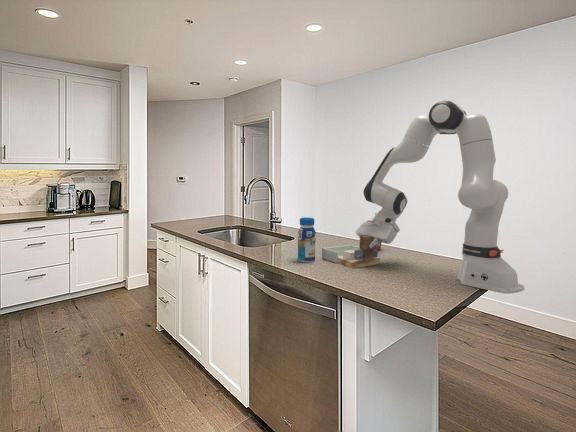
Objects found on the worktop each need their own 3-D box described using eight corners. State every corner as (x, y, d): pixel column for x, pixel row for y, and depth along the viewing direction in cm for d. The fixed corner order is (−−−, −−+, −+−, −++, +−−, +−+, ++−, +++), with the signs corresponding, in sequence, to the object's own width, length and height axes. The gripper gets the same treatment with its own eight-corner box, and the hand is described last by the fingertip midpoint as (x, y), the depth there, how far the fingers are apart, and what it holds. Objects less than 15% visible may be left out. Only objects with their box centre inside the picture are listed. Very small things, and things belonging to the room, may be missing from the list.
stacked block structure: (378, 257, 164) (379, 235, 163) (358, 260, 158) (359, 237, 157) (373, 255, 167) (374, 234, 166) (353, 258, 161) (353, 236, 160)
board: (379, 263, 167) (379, 258, 166) (352, 268, 158) (352, 262, 158) (364, 259, 175) (364, 254, 175) (338, 263, 167) (338, 257, 167)
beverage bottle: (299, 258, 176) (299, 216, 174) (316, 259, 174) (317, 217, 172) (295, 262, 168) (296, 219, 166) (314, 263, 166) (315, 219, 164)
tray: (366, 259, 176) (366, 248, 175) (336, 263, 166) (336, 252, 166) (350, 254, 185) (351, 244, 184) (322, 258, 176) (322, 248, 175)
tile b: (358, 258, 166) (358, 251, 166) (350, 259, 163) (350, 253, 163) (351, 256, 170) (351, 249, 170) (342, 257, 168) (343, 250, 167)
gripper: (363, 215, 173) (346, 237, 169) (396, 221, 155) (378, 245, 151) (369, 224, 175) (353, 246, 172) (403, 230, 158) (385, 255, 154)
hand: (365, 246), depth 161 cm, fingers closed on stacked block structure, 3 cm apart
